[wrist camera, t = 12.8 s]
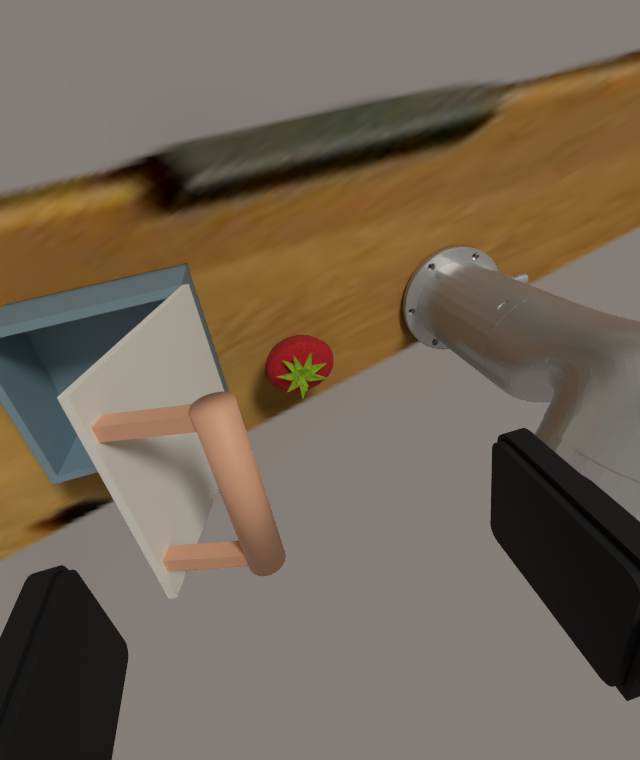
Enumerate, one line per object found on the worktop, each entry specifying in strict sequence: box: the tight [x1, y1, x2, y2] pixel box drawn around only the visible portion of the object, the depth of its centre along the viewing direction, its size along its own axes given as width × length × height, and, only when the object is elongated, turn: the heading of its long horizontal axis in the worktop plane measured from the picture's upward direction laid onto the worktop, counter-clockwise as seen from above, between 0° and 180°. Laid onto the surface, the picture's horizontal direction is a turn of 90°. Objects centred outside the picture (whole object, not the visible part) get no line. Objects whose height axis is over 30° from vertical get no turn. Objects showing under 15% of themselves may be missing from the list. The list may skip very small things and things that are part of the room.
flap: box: [57, 284, 285, 598], centre depth 32 cm, size 18×16×8 cm
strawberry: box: [265, 335, 333, 399], centre depth 47 cm, size 6×8×10 cm
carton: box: [0, 263, 229, 485], centre depth 44 cm, size 18×16×9 cm
